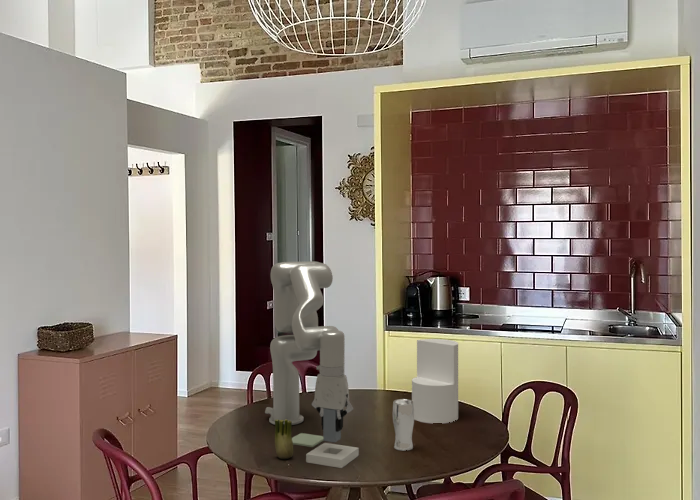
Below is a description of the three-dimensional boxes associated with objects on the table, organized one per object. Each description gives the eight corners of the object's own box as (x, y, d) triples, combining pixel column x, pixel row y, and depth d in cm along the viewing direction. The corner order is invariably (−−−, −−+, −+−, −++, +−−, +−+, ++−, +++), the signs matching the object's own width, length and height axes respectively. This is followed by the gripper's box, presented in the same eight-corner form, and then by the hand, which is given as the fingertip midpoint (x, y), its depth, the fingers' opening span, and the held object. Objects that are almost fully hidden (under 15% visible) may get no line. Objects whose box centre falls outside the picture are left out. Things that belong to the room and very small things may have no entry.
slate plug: (323, 440, 206) (323, 408, 206) (329, 436, 210) (329, 405, 209) (335, 442, 204) (335, 410, 204) (340, 438, 208) (340, 406, 208)
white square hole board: (306, 462, 204) (306, 454, 204) (324, 450, 215) (324, 442, 215) (341, 468, 199) (341, 459, 199) (358, 455, 209) (358, 447, 209)
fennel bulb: (272, 457, 209) (272, 418, 208) (286, 453, 212) (285, 416, 211) (282, 462, 204) (282, 423, 204) (296, 458, 207) (296, 420, 207)
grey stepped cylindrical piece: (431, 408, 264) (430, 337, 263) (467, 416, 252) (467, 342, 251) (402, 417, 252) (402, 342, 251) (439, 426, 240) (439, 348, 239)
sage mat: (285, 443, 222) (285, 441, 222) (300, 434, 231) (300, 433, 231) (312, 447, 218) (312, 445, 218) (326, 438, 227) (326, 436, 227)
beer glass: (400, 452, 212) (400, 405, 212) (388, 446, 218) (388, 400, 218) (418, 449, 215) (418, 402, 215) (406, 443, 222) (406, 397, 221)
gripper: (302, 370, 206) (302, 429, 207) (351, 376, 199) (351, 437, 200) (314, 365, 213) (314, 422, 214) (362, 371, 206) (361, 429, 207)
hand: (332, 428), depth 207 cm, fingers closed on slate plug, 4 cm apart
